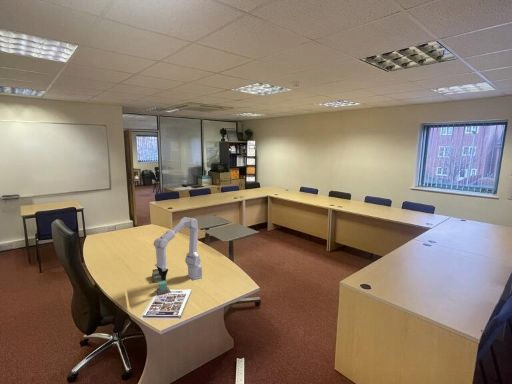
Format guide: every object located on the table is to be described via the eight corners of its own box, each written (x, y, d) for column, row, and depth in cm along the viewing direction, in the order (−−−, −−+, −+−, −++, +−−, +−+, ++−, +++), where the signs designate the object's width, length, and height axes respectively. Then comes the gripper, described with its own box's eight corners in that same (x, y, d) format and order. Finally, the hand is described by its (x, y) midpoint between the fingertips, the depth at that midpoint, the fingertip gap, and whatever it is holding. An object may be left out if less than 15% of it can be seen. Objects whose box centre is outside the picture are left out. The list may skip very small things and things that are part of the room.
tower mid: (166, 288, 176) (166, 285, 175) (168, 292, 171) (168, 289, 170) (156, 290, 173) (156, 287, 172) (158, 294, 168) (158, 291, 167)
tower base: (168, 289, 177) (168, 287, 177) (171, 295, 170) (171, 292, 170) (155, 293, 173) (155, 290, 173) (157, 298, 167) (157, 295, 166)
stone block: (152, 285, 183) (151, 278, 182) (151, 276, 196) (150, 269, 195) (166, 282, 186) (165, 275, 186) (164, 274, 199) (163, 267, 199)
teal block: (165, 286, 174) (165, 280, 173) (166, 289, 170) (166, 283, 170) (158, 288, 172) (158, 282, 171) (160, 290, 168) (159, 284, 168)
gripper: (152, 254, 173) (153, 274, 175) (156, 262, 160) (157, 283, 162) (164, 252, 176) (165, 272, 178) (168, 260, 164) (169, 281, 166)
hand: (162, 277), depth 170 cm, fingers open, 7 cm apart
